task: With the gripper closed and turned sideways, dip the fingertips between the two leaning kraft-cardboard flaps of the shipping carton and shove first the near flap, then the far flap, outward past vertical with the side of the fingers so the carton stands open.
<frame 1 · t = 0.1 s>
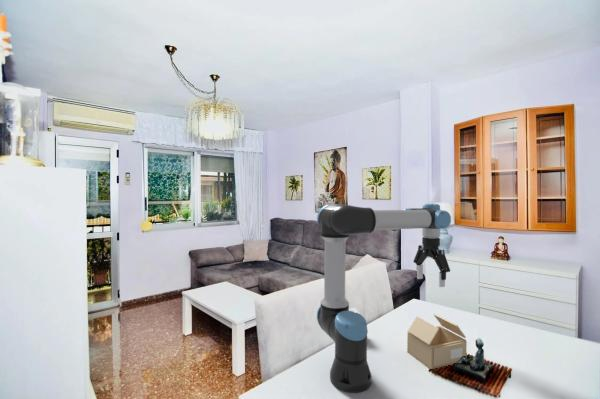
hand: (430, 282, 139), 28 cm above the table, fingers open, 13 cm apart
near flap: (422, 330, 124), point 13 cm above the table, hinge at 40.0°
far flap: (449, 325, 129), point 13 cm above the table, hinge at -40.0°
ink box: (353, 335, 147), on the table
carton: (435, 356, 127), on the table
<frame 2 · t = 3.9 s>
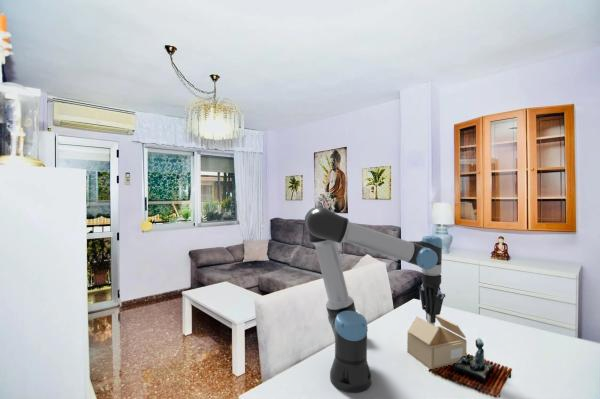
hand: (430, 329, 126), 12 cm above the table, fingers closed
near flap: (422, 330, 124), point 13 cm above the table, hinge at 39.6°, touching gripper
everything else where it was.
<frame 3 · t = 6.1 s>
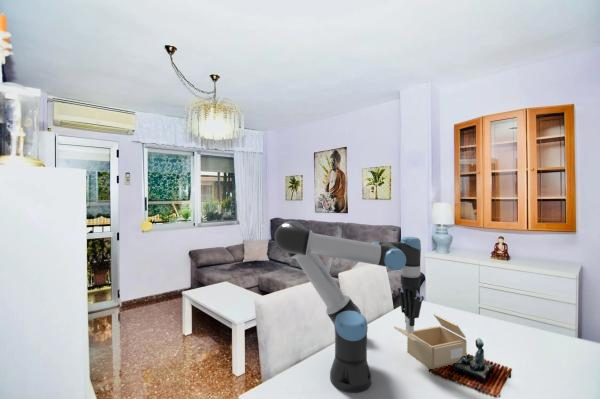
hand: (409, 332, 122), 12 cm above the table, fingers closed
near flap: (410, 335, 122), point 11 cm above the table, hinge at -66.1°, touching gripper
everything else where it was.
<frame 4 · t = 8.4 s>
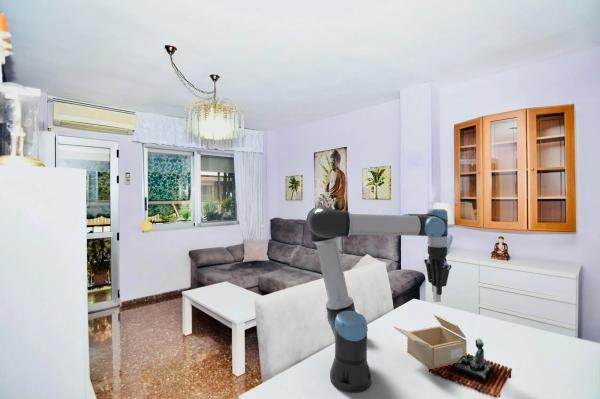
hand: (436, 301, 126), 24 cm above the table, fingers closed
near flap: (410, 335, 122), point 11 cm above the table, hinge at -66.5°
everything else where it was.
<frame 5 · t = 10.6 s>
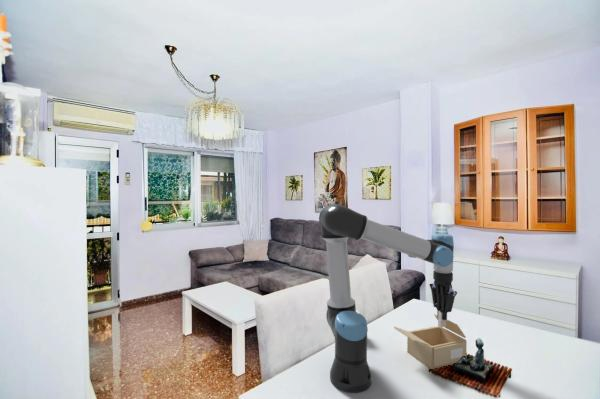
hand: (441, 326, 128), 13 cm above the table, fingers closed
far flap: (449, 325, 129), point 13 cm above the table, hinge at -38.7°, touching gripper
everything else where it was.
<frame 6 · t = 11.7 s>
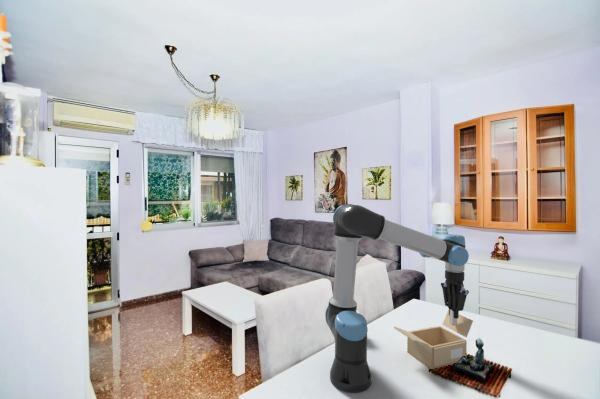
hand: (453, 324, 130), 13 cm above the table, fingers closed
far flap: (457, 322, 131), point 13 cm above the table, hinge at 28.3°, touching gripper
everything else where it was.
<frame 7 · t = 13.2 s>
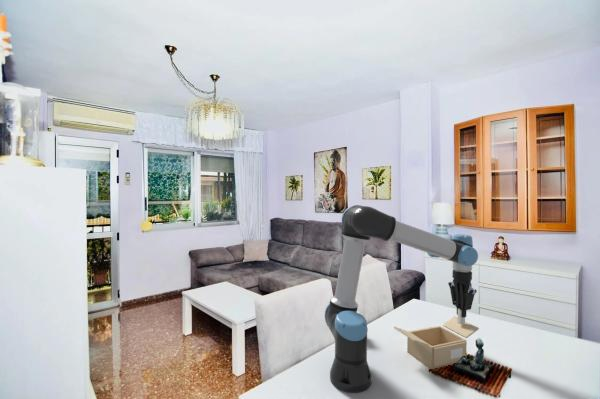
hand: (461, 323, 131), 12 cm above the table, fingers closed
far flap: (460, 326, 131), point 11 cm above the table, hinge at 67.0°, touching gripper
everything else where it was.
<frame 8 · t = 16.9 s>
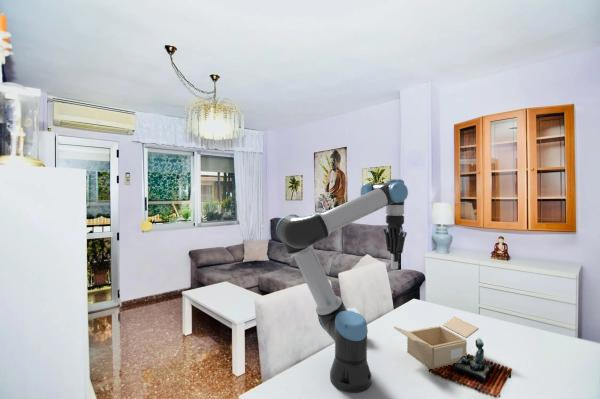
hand: (394, 268, 131), 36 cm above the table, fingers closed
far flap: (460, 326, 131), point 11 cm above the table, hinge at 67.0°
everything else where it was.
at the end: near flap at -66° (first picture: +40°); far flap at +67° (first picture: -40°) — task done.
